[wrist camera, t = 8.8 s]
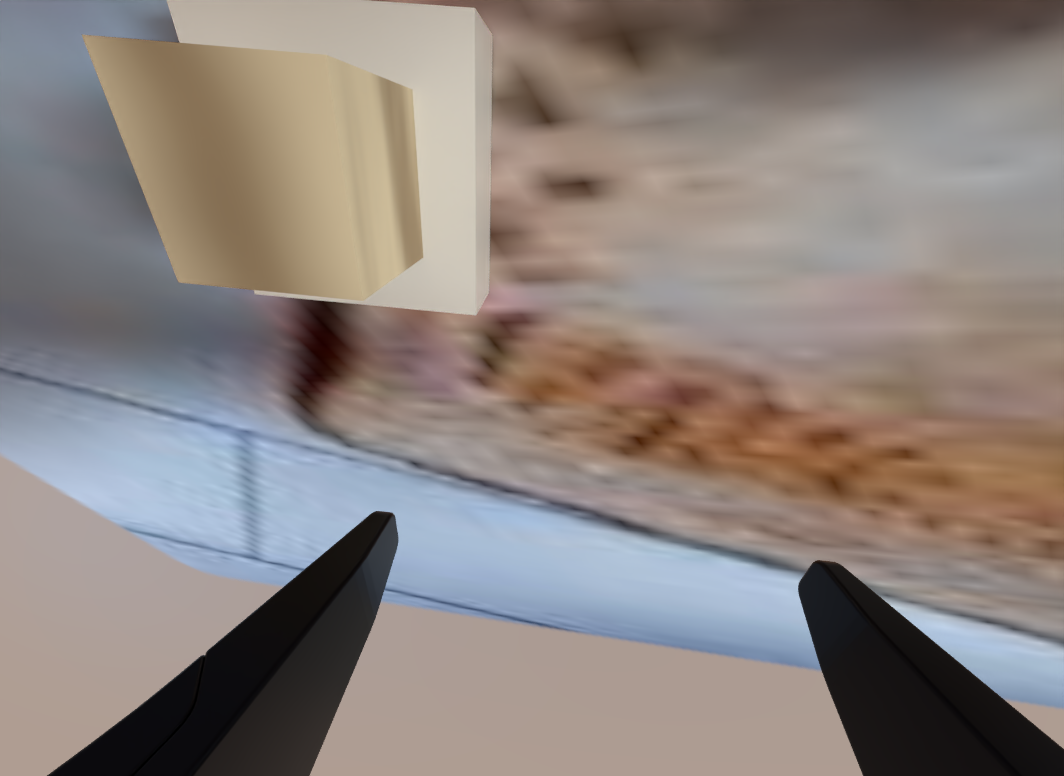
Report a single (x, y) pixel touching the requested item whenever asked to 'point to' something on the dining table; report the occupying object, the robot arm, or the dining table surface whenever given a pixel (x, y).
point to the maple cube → (268, 164)
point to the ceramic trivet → (439, 113)
